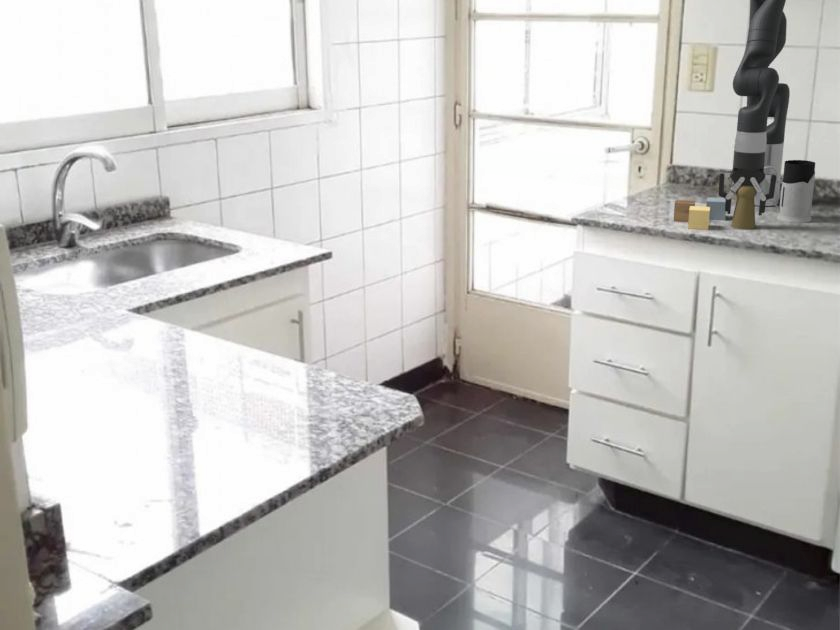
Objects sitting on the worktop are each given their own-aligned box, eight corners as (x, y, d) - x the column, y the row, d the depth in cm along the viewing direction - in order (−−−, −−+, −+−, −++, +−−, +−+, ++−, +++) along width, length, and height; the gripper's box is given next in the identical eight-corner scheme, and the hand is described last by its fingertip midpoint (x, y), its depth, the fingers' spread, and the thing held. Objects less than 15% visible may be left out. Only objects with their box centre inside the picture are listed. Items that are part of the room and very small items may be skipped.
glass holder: (814, 223, 258) (820, 165, 253) (756, 221, 261) (761, 164, 256) (809, 216, 266) (815, 159, 261) (753, 214, 269) (758, 158, 264)
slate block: (705, 215, 269) (707, 197, 267) (725, 216, 267) (726, 198, 266) (705, 219, 264) (706, 201, 263) (725, 220, 263) (726, 202, 261)
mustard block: (688, 224, 259) (690, 205, 257) (708, 225, 258) (710, 206, 256) (687, 229, 254) (689, 209, 253) (708, 230, 253) (709, 210, 251)
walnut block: (674, 217, 267) (675, 199, 266) (693, 218, 266) (695, 200, 264) (673, 221, 263) (674, 202, 261) (693, 222, 261) (694, 203, 260)
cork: (752, 224, 258) (756, 182, 255) (757, 229, 252) (761, 186, 249) (728, 224, 259) (732, 181, 255) (733, 229, 253) (736, 186, 250)
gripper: (779, 147, 251) (773, 212, 256) (720, 146, 255) (715, 209, 260) (780, 152, 244) (774, 218, 249) (719, 150, 248) (714, 215, 253)
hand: (744, 213), depth 255 cm, fingers open, 7 cm apart
